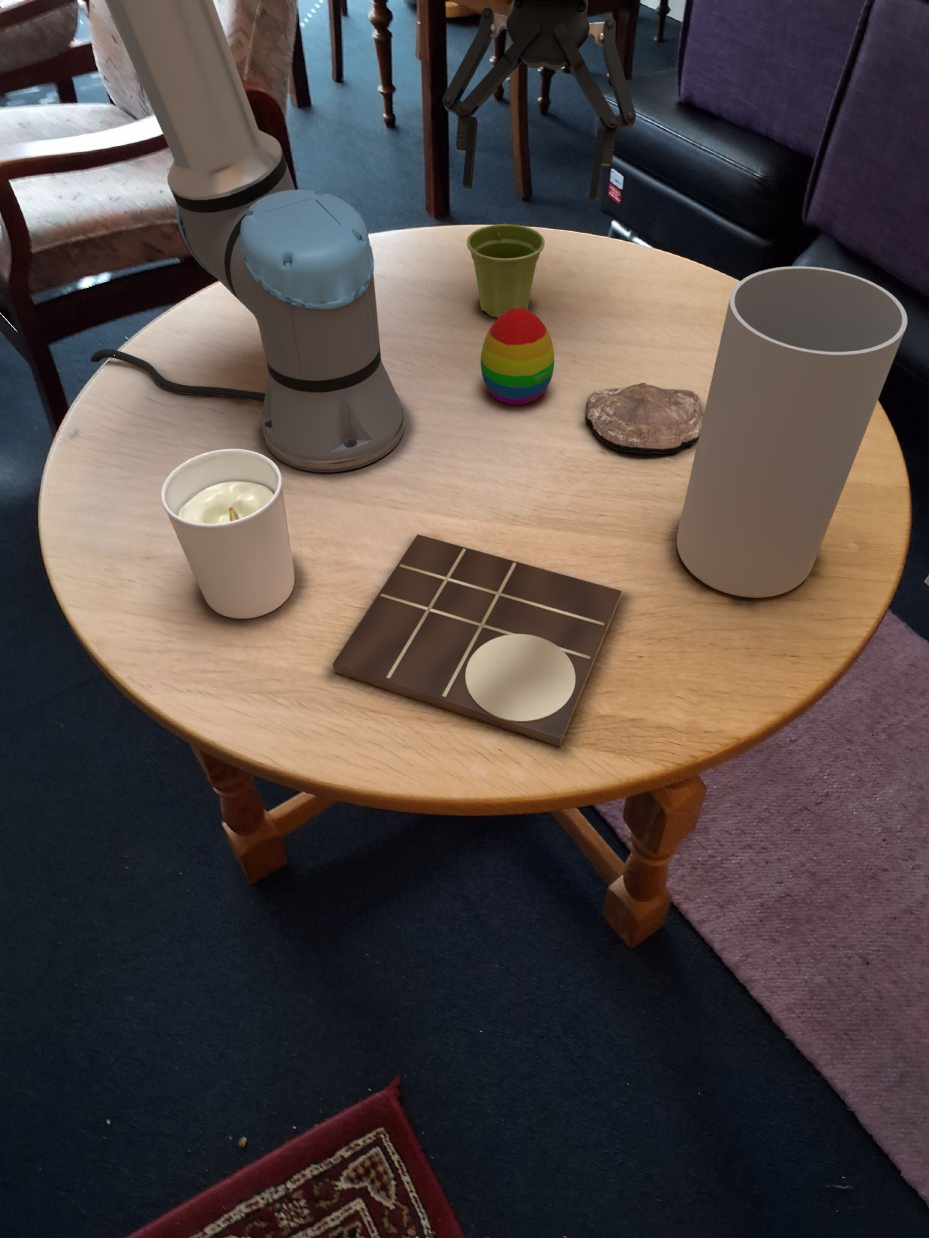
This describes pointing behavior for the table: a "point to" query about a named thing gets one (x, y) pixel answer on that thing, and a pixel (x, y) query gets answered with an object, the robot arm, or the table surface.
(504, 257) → the plant pot
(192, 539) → the candle holder
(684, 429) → the shell
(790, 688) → the table surface
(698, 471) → the cylinder vase
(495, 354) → the decorative egg
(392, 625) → the board
